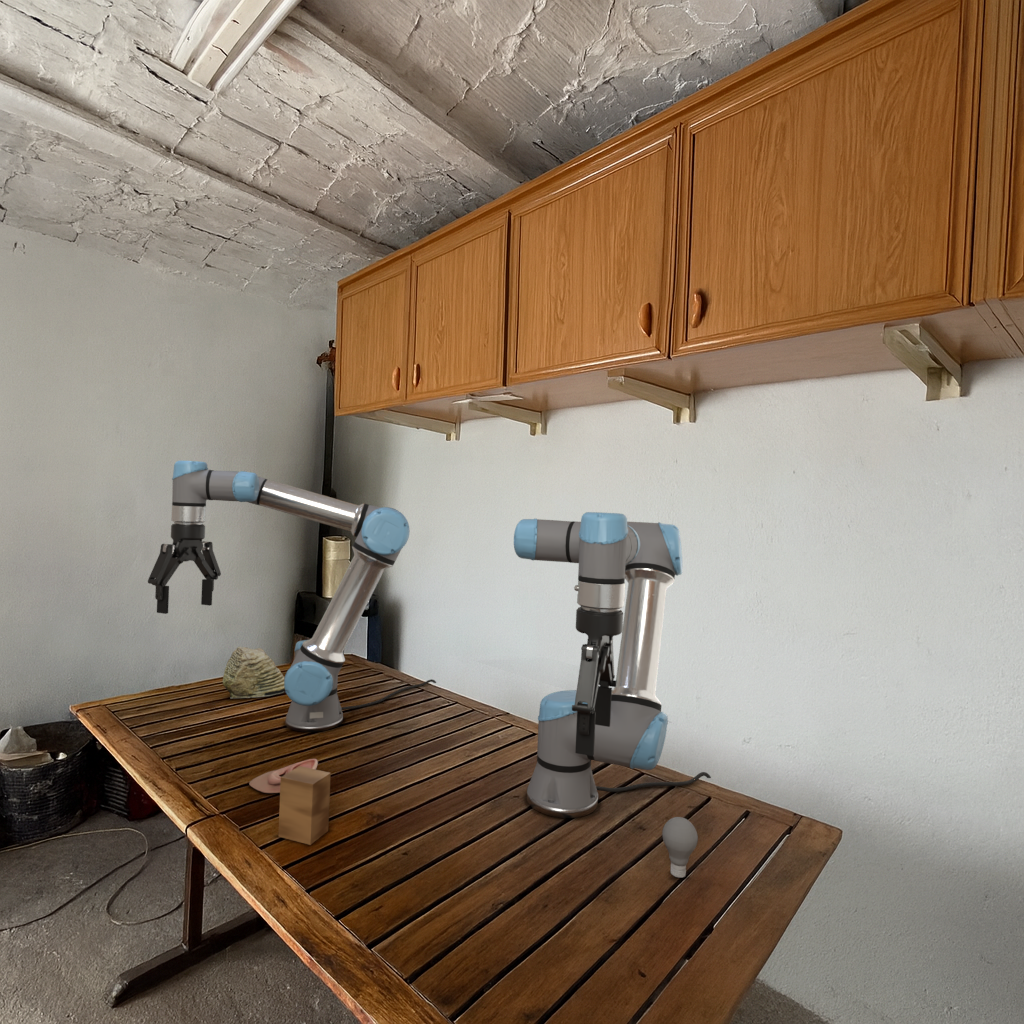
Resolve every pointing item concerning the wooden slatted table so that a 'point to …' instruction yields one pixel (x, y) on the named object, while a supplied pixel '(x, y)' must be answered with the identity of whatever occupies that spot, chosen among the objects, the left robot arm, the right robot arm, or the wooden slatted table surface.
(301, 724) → the left robot arm
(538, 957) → the wooden slatted table surface
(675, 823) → the light bulb
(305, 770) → the block
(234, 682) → the fossil
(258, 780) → the anatomical model
